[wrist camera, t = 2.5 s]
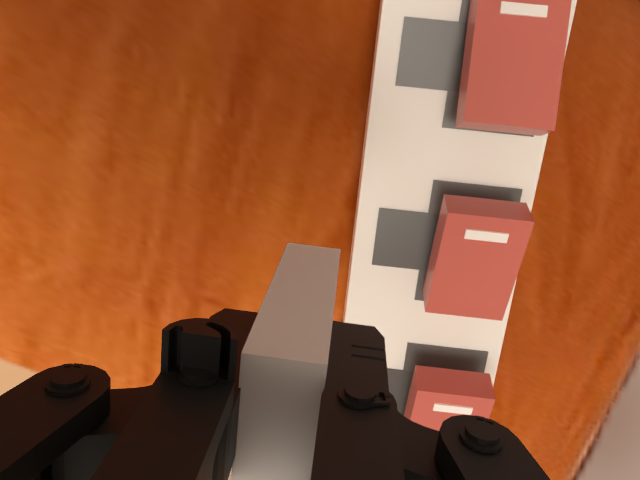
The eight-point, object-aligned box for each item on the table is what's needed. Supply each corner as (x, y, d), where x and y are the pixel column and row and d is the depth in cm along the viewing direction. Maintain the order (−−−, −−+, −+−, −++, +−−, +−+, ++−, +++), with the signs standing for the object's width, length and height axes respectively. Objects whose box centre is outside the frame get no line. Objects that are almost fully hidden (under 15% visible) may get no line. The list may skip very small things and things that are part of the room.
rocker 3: (415, 365, 31) (417, 392, 29) (489, 373, 31) (495, 401, 29) (398, 437, 34) (399, 464, 33) (465, 444, 34) (470, 473, 32)
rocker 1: (470, -3, 27) (480, -19, 25) (556, 5, 26) (573, -10, 25) (455, 127, 27) (463, 121, 25) (540, 136, 27) (556, 130, 25)
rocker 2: (443, 194, 28) (448, 213, 26) (526, 202, 28) (535, 222, 26) (422, 290, 31) (424, 313, 30) (496, 298, 31) (502, 322, 29)
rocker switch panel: (385, -39, 30) (390, -56, 26) (555, -23, 30) (590, -37, 26) (332, 411, 39) (328, 457, 35) (463, 426, 39) (477, 474, 34)
